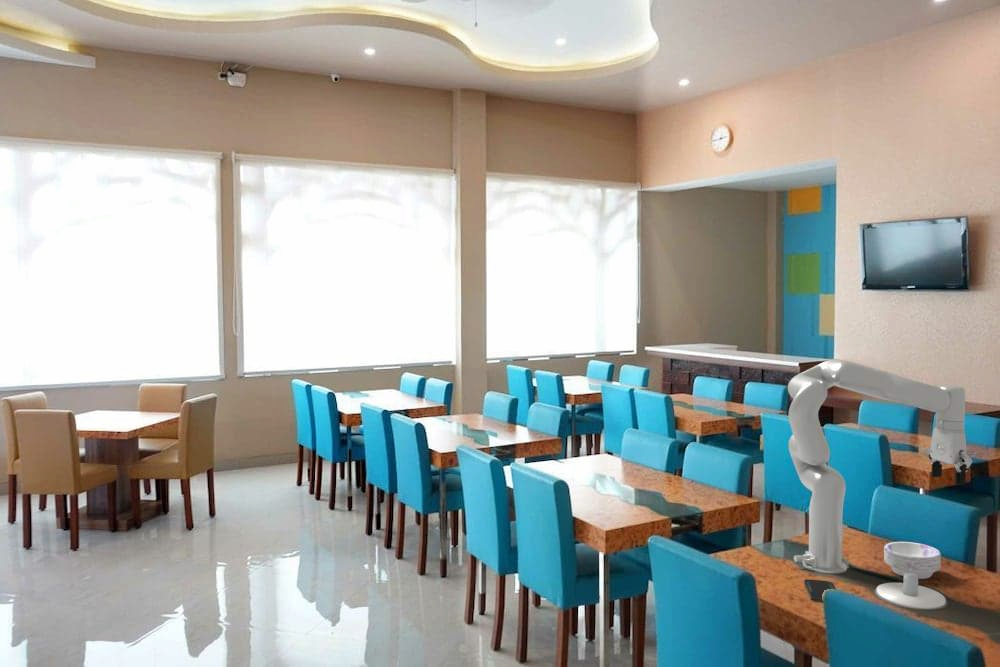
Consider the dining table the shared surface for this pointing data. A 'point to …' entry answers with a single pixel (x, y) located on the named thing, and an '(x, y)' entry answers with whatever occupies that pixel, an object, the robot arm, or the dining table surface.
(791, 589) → the dining table surface
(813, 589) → the phone
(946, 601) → the mat
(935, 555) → the paper bowls
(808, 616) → the dining table surface
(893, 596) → the lid
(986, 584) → the dining table surface
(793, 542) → the dining table surface
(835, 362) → the robot arm
